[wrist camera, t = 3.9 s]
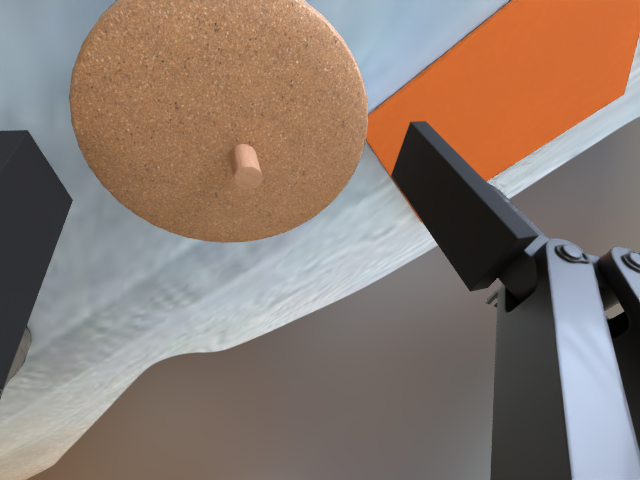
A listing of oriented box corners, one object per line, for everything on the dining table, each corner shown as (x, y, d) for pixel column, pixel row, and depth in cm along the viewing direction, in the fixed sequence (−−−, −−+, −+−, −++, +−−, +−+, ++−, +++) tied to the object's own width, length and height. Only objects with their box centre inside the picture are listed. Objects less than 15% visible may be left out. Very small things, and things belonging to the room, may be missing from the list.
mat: (420, 220, 32) (421, 222, 32) (355, 124, 21) (357, 127, 21) (620, 92, 26) (624, 94, 26) (674, -131, 15) (681, -131, 15)
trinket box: (259, 181, 22) (285, 284, 17) (82, 106, 16) (24, 236, 10) (354, 47, 17) (439, 129, 12) (153, -148, 11) (118, -185, 5)
